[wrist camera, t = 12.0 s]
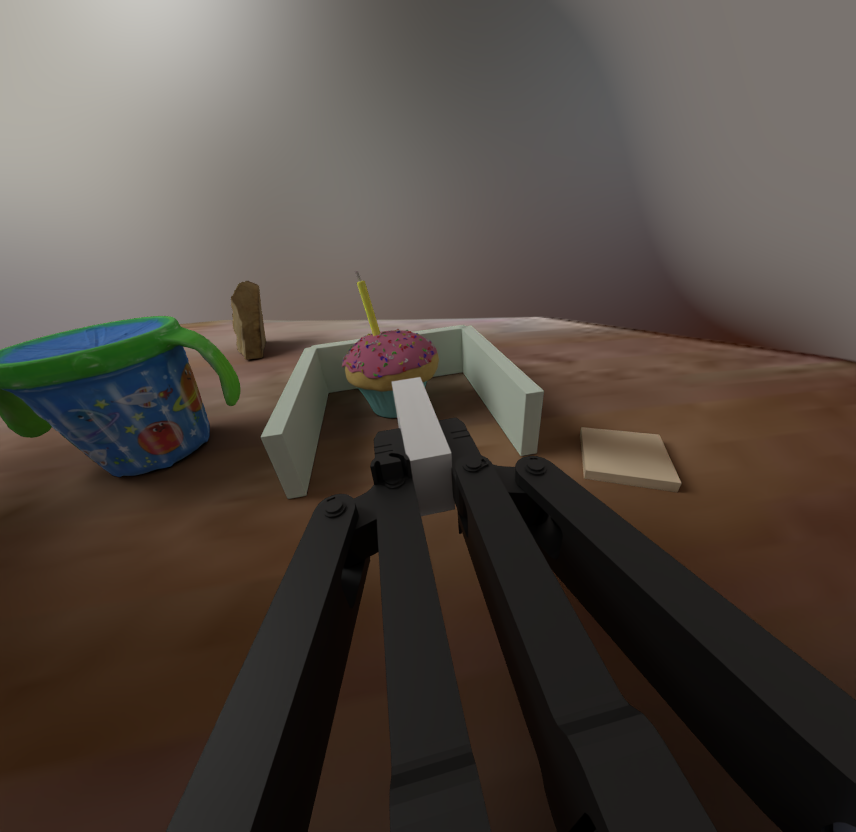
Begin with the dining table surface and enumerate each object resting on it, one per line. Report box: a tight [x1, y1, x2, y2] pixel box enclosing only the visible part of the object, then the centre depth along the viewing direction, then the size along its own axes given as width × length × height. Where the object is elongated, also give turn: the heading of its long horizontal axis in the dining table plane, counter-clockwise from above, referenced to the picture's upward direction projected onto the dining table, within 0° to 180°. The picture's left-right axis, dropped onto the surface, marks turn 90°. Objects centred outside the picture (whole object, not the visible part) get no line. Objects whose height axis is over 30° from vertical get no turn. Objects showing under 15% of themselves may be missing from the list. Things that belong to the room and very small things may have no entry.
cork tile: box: [580, 427, 681, 492], centre depth 21 cm, size 5×5×1 cm
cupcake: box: [342, 271, 439, 418], centre depth 28 cm, size 9×8×12 cm
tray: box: [260, 325, 544, 499], centre depth 28 cm, size 17×17×5 cm
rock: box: [231, 281, 266, 360], centre depth 48 cm, size 11×9×10 cm
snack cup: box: [0, 316, 240, 477], centre depth 25 cm, size 16×10×10 cm
